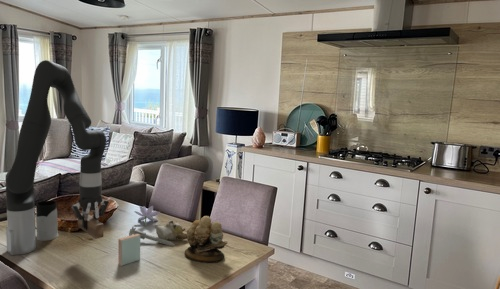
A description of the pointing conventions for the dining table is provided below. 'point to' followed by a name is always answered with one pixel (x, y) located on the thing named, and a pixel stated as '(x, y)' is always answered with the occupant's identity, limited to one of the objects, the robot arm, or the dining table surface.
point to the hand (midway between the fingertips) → (90, 227)
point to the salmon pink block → (128, 249)
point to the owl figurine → (205, 241)
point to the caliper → (149, 237)
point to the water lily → (147, 213)
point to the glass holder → (46, 220)
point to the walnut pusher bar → (92, 227)
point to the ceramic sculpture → (171, 231)
